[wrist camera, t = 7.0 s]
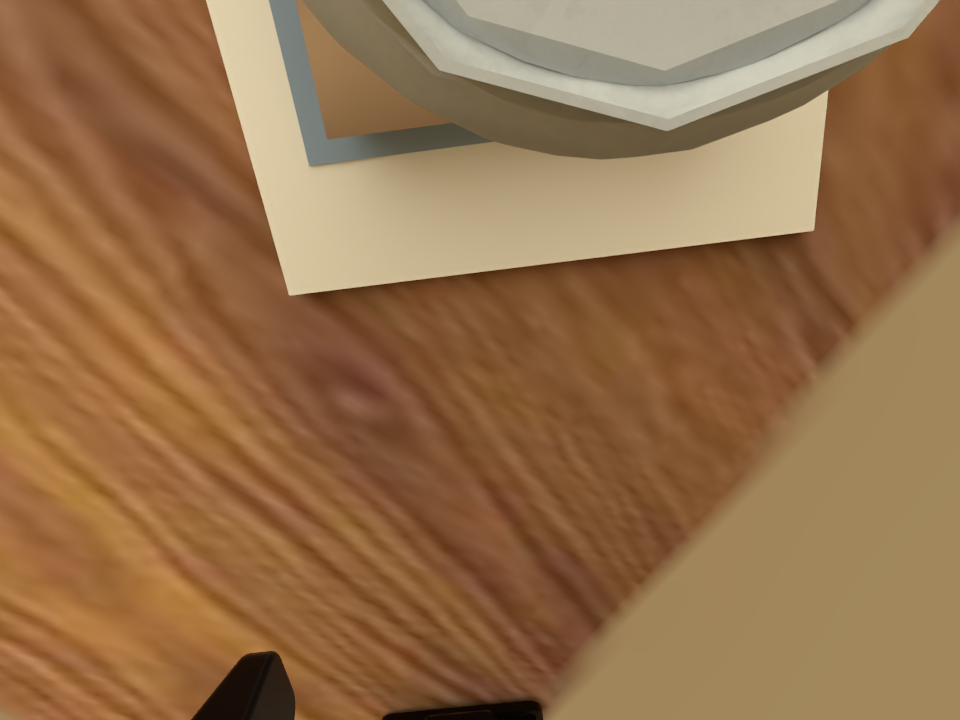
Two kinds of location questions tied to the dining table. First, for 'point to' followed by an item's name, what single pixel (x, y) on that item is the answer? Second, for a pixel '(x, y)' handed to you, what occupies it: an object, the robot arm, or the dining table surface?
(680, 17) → the beer can
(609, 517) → the dining table surface
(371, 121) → the base block
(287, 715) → the robot arm
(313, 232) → the white flat square slab
